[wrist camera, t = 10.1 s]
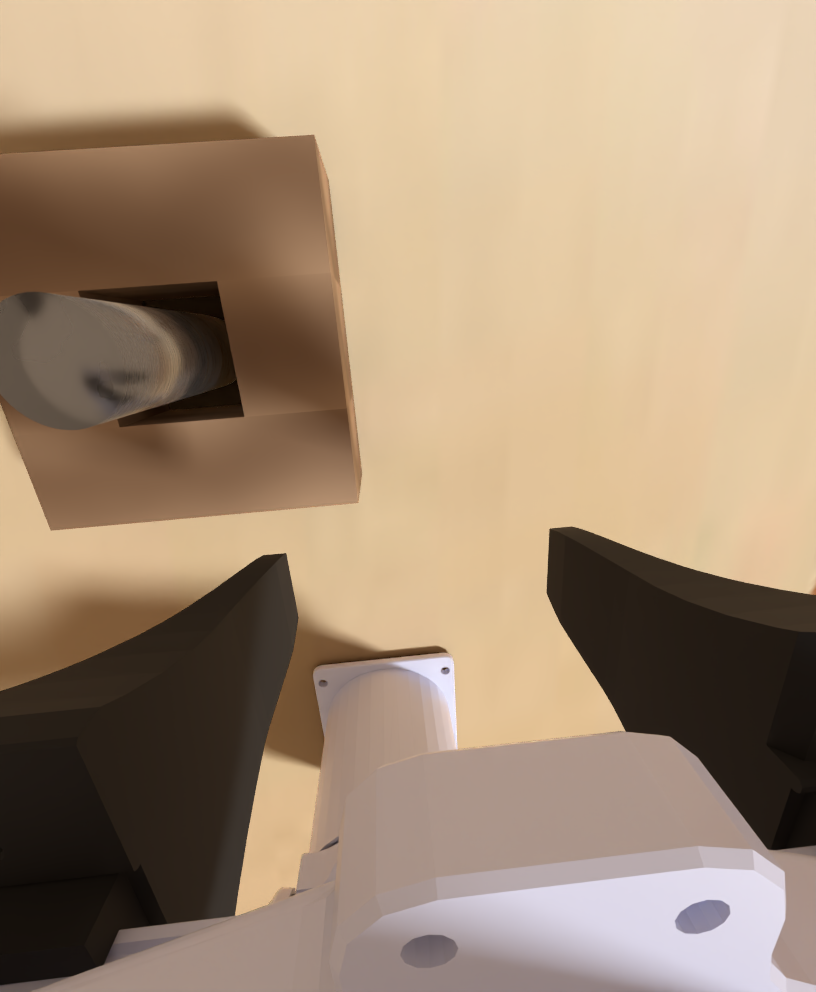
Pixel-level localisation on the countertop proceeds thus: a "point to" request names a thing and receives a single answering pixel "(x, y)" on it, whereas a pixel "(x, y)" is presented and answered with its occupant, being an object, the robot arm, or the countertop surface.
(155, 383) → the steel pin
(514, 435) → the countertop surface
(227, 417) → the wooden square frame
